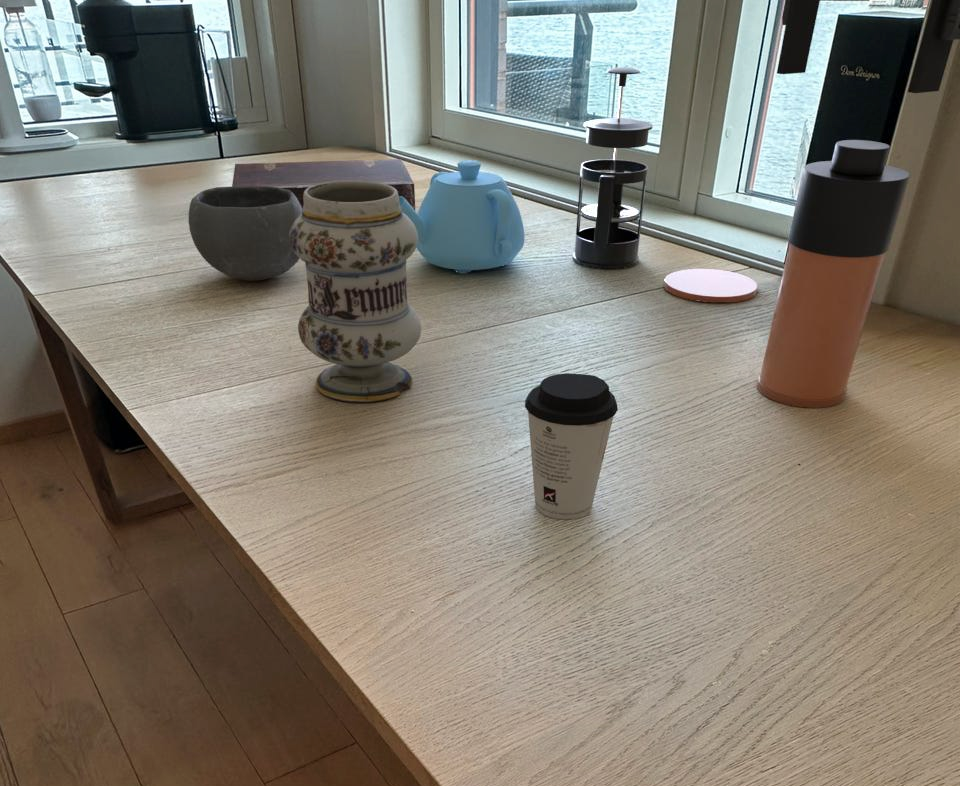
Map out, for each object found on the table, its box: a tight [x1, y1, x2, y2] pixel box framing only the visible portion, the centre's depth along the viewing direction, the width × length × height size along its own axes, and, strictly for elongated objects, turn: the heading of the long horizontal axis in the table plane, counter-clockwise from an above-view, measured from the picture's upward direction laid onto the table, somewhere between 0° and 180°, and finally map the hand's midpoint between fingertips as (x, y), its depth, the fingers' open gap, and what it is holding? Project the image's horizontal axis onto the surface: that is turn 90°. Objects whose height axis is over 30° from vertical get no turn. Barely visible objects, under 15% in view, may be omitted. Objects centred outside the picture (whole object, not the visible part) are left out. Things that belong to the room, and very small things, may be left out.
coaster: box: [663, 268, 759, 304], centre depth 113 cm, size 12×12×1 cm
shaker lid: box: [787, 139, 911, 257], centre depth 76 cm, size 9×9×8 cm
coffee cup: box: [524, 372, 619, 520], centre depth 66 cm, size 7×7×10 cm
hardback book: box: [231, 158, 416, 211], centre depth 145 cm, size 29×19×5 cm, turn 101°
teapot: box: [399, 160, 525, 274], centre depth 116 cm, size 20×20×13 cm
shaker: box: [756, 242, 886, 409], centre depth 83 cm, size 9×9×14 cm
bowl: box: [188, 185, 302, 282], centre depth 112 cm, size 15×15×10 cm
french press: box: [572, 66, 654, 270], centre depth 115 cm, size 12×9×23 cm
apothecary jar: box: [289, 180, 422, 403], centre depth 82 cm, size 12×12×18 cm
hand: (852, 82), depth 71 cm, fingers open, 13 cm apart
